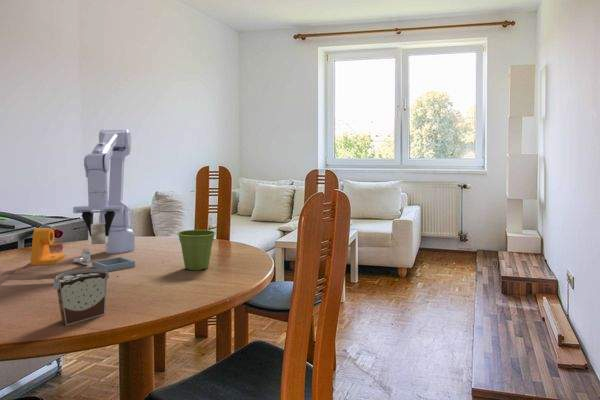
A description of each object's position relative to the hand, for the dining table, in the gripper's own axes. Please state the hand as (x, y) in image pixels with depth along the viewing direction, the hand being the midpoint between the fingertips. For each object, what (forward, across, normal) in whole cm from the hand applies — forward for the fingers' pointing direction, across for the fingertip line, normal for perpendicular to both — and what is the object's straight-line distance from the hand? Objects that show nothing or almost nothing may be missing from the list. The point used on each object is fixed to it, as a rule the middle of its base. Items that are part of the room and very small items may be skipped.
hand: (99, 235), depth 164 cm
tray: (+10, +5, -6) cm, 13 cm away
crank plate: (+10, -3, +2) cm, 11 cm away
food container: (+11, +5, -51) cm, 52 cm away
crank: (+9, -5, 0) cm, 10 cm away
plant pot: (+10, +30, -6) cm, 32 cm away
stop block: (+2, 0, 0) cm, 2 cm away
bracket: (+10, -17, +7) cm, 21 cm away
